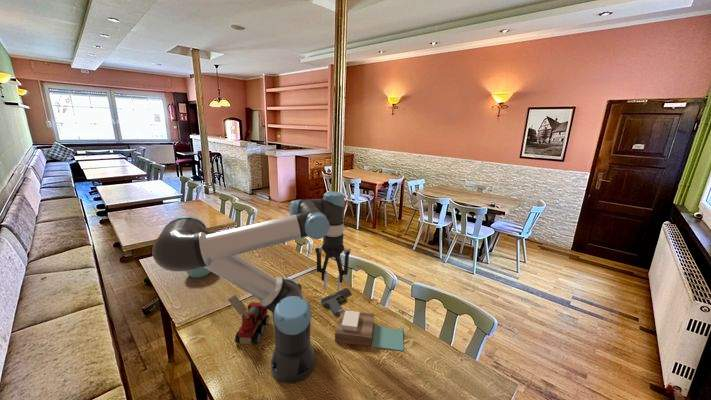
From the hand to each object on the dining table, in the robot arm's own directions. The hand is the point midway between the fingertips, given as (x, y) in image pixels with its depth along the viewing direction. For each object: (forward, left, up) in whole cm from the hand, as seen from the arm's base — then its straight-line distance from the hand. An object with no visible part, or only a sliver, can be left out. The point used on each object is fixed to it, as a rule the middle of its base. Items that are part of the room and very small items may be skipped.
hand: (332, 288), depth 113 cm
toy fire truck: (-8, +31, -19) cm, 38 cm away
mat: (-1, -23, -19) cm, 30 cm away
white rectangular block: (0, -8, -15) cm, 17 cm away
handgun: (+18, -1, -19) cm, 27 cm away
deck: (0, -10, -19) cm, 21 cm away
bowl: (+28, +78, -19) cm, 85 cm away
